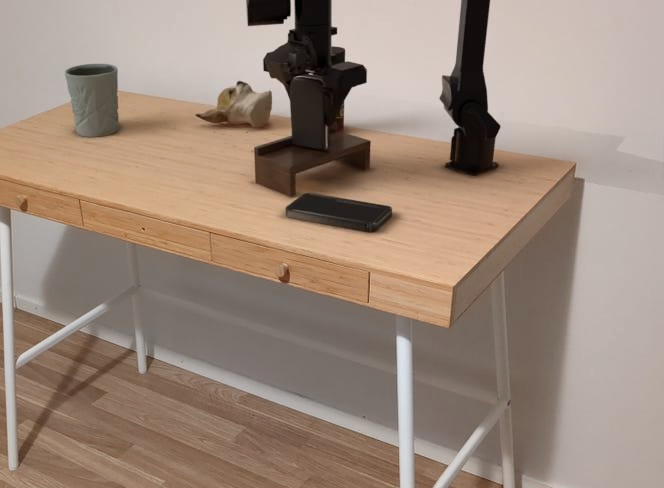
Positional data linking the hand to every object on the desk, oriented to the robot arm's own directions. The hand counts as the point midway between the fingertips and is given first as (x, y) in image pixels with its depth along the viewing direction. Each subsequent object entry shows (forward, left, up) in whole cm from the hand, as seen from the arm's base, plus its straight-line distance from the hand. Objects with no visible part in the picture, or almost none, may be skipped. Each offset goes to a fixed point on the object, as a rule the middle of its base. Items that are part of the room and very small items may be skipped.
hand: (313, 121), depth 147 cm
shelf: (0, 0, -9) cm, 9 cm away
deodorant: (+16, -18, -10) cm, 26 cm away
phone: (-15, +9, -9) cm, 20 cm away
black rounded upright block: (0, 0, -4) cm, 4 cm away
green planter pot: (+50, +13, -10) cm, 52 cm away
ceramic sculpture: (+32, -9, -10) cm, 35 cm away
